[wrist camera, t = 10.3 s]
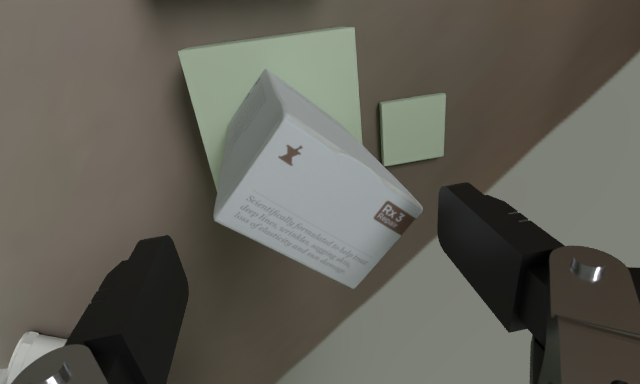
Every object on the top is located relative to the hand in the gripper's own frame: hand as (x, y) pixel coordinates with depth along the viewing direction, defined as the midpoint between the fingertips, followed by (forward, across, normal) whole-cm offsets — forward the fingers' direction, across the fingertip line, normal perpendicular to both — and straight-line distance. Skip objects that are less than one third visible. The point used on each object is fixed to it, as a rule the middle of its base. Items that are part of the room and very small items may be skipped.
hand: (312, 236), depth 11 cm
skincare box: (+13, 0, 0) cm, 13 cm away
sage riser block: (+17, 0, 0) cm, 17 cm away
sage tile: (+17, -10, +3) cm, 20 cm away
